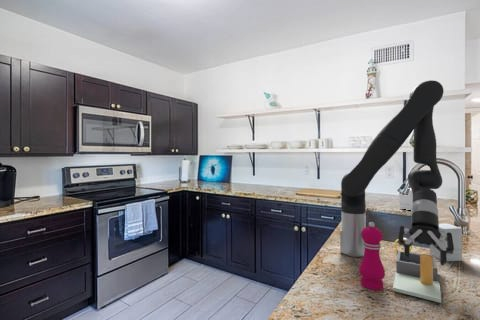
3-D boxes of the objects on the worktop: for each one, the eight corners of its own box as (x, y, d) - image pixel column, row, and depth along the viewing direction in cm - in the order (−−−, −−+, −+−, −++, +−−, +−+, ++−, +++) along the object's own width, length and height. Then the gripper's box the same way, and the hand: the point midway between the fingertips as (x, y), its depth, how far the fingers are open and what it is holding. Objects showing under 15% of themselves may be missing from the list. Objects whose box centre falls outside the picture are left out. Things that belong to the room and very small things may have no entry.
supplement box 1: (418, 209, 186) (418, 189, 186) (412, 211, 181) (412, 190, 181) (404, 207, 194) (404, 187, 193) (398, 209, 188) (398, 188, 188)
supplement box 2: (446, 253, 105) (446, 222, 105) (462, 261, 98) (463, 228, 98) (428, 254, 105) (429, 223, 105) (443, 261, 98) (444, 228, 98)
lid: (392, 293, 77) (392, 259, 76) (395, 278, 86) (395, 248, 86) (441, 305, 70) (441, 269, 70) (439, 287, 79) (439, 255, 79)
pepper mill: (373, 293, 76) (373, 226, 76) (354, 282, 83) (353, 220, 83) (390, 288, 79) (390, 223, 79) (370, 277, 86) (370, 218, 86)
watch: (410, 252, 108) (411, 238, 107) (411, 255, 105) (412, 240, 105) (393, 249, 111) (395, 235, 110) (394, 251, 108) (395, 237, 108)
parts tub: (396, 275, 87) (396, 260, 87) (398, 263, 96) (398, 250, 96) (437, 284, 81) (437, 268, 81) (435, 271, 90) (435, 256, 90)
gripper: (399, 207, 90) (397, 250, 81) (452, 212, 82) (456, 260, 73) (400, 219, 95) (397, 260, 86) (450, 225, 87) (453, 272, 78)
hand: (424, 260), depth 79 cm, fingers open, 8 cm apart
